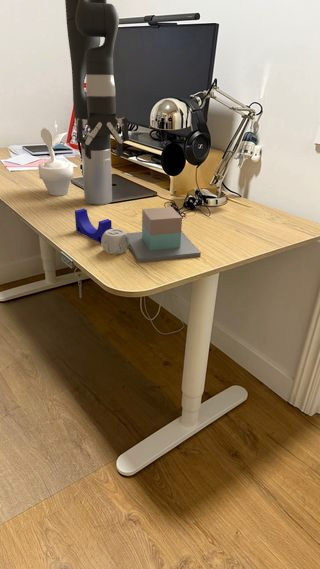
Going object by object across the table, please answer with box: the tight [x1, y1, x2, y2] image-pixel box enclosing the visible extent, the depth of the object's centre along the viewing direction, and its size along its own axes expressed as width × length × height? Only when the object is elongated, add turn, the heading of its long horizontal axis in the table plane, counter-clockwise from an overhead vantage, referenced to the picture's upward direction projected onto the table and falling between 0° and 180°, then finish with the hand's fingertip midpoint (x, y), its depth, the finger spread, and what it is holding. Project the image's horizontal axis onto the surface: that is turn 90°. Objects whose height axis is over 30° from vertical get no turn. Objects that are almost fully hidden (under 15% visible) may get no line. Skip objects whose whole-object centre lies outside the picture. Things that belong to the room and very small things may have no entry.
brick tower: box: [125, 206, 202, 263], centre depth 102 cm, size 16×16×9 cm
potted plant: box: [37, 119, 74, 197], centre depth 134 cm, size 13×12×25 cm
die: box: [100, 228, 129, 255], centre depth 99 cm, size 5×5×5 cm
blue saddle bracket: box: [74, 208, 114, 244], centre depth 107 cm, size 12×4×6 cm, turn 45°
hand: (104, 157), depth 112 cm, fingers open, 8 cm apart
